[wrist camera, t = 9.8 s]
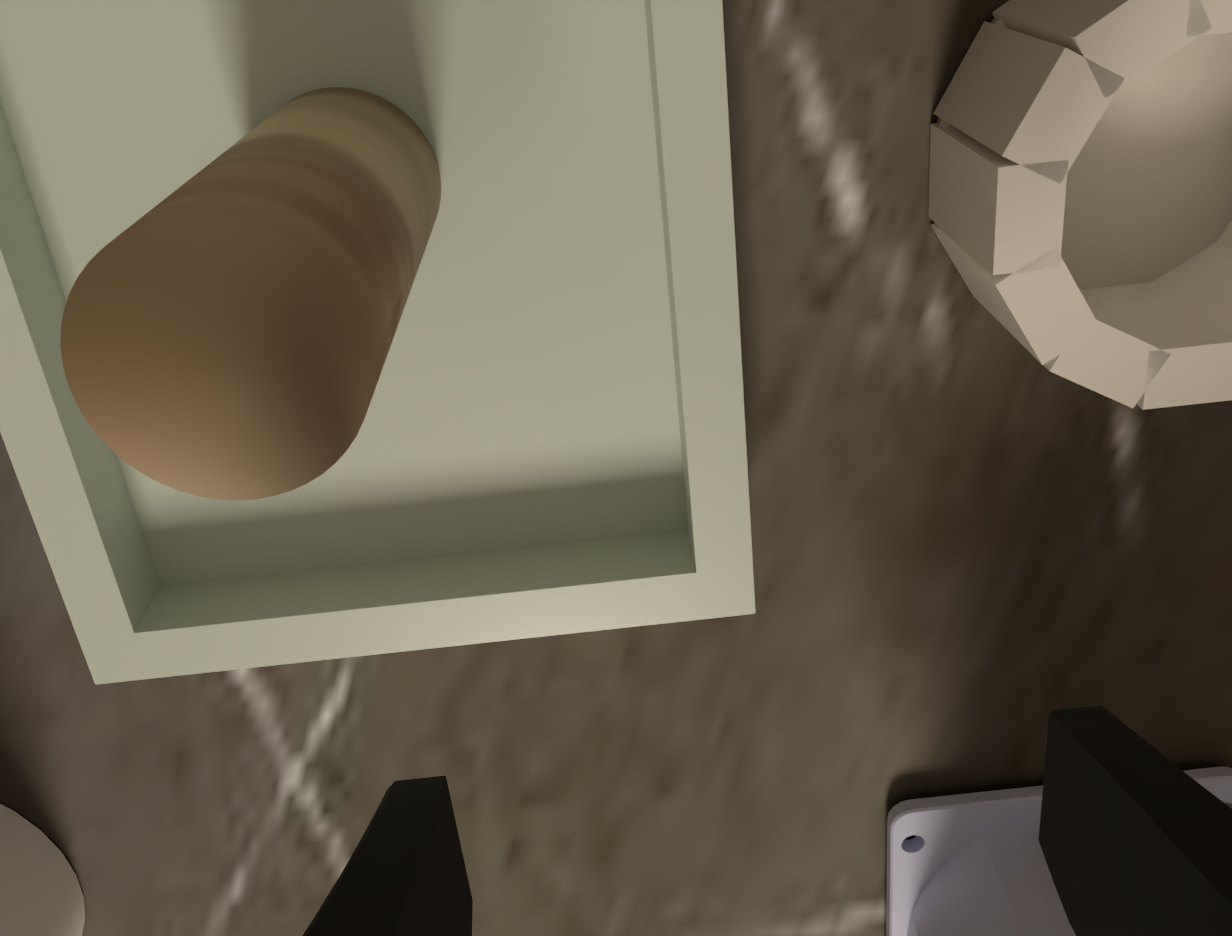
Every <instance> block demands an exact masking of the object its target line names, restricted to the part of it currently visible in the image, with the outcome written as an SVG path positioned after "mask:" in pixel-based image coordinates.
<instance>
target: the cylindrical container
mask: <svg viewBox="0 0 1232 936" xmlns="http://www.w3.org/2000/svg"><path fill="white" fill-rule="evenodd" d="M84 922H85V907H84V896H83V893H82V891H81V888H80V885H79V882H78V879H77V876H76V874H75V872H74V871H73V869H72V868H71V866H70V864H69V863H68V861H67V860H66V858H65V856H64V855H63V853H62V852H61V851H60V850H59V849H58V848H57V847H56V846H55V845H54V844H53V843H52V841H51V840H50V839H49V838H48V837H47V836H46V835H45V834H44V833H43V832H42V831H41V830H40V829H38V828H37V827H35V826H34V825H33V824H31V823H30V822H29V821H27V820H26V819H25V818H23V817H22V816H20V815H19V814H18V813H16V812H15V811H13V810H11V809H9V808H8V807H6V806H4V805H2V804H0V936H82V932H83V927H84Z"/></svg>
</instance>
